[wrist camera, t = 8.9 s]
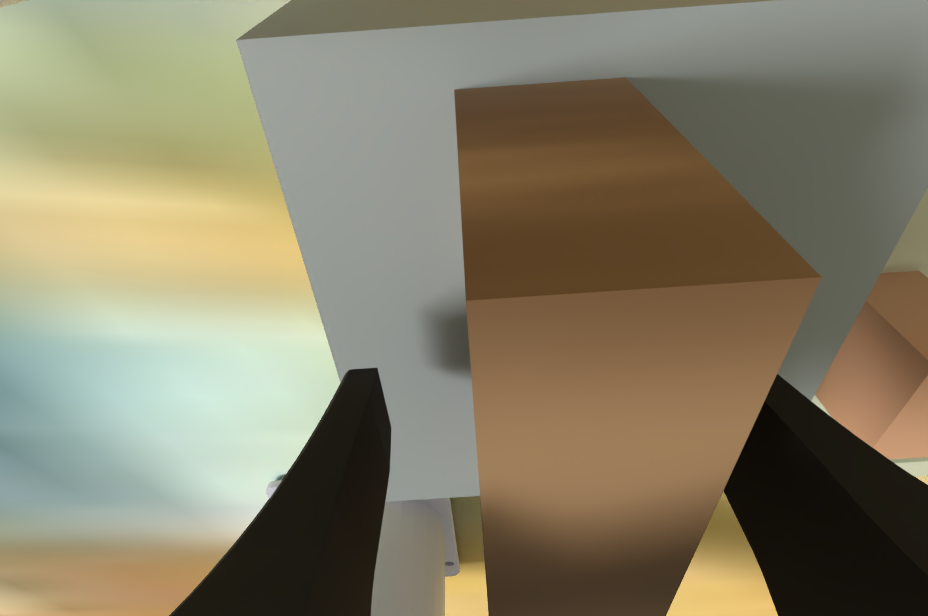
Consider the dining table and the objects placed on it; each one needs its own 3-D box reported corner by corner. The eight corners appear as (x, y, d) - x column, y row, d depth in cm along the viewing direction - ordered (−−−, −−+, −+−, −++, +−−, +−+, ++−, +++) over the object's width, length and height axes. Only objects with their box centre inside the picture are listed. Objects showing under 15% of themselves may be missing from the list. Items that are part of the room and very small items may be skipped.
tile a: (793, 365, 19) (862, 362, 19) (863, 460, 16) (946, 456, 16) (839, 275, 16) (919, 270, 16) (934, 366, 13) (1032, 361, 13)
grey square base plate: (718, 387, 20) (768, 478, 17) (387, 409, 20) (377, 502, 17) (877, -44, 11) (1039, -19, 8) (291, -1, 12) (235, 39, 8)
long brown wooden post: (574, 473, 17) (625, 701, 12) (480, 479, 17) (495, 709, 12) (625, 76, 9) (821, 277, 4) (454, 89, 9) (466, 300, 4)
